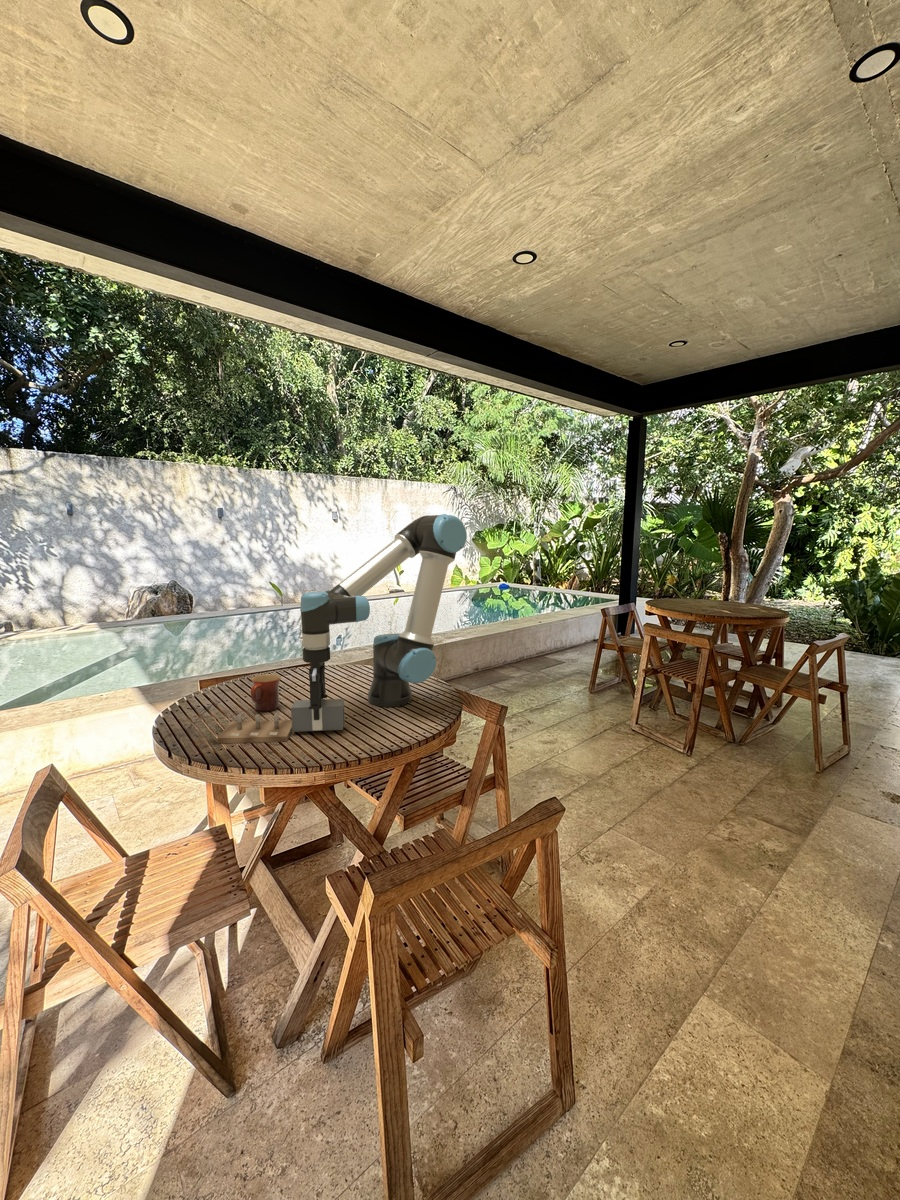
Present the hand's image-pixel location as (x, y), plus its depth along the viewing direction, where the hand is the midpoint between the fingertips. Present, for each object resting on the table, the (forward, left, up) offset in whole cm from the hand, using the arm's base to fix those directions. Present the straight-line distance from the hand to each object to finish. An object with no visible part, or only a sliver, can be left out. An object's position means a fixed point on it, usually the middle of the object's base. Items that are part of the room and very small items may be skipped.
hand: (319, 724), depth 141 cm
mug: (+20, -18, -2) cm, 26 cm away
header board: (+17, +1, -2) cm, 17 cm away
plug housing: (0, 0, 0) cm, 1 cm away
